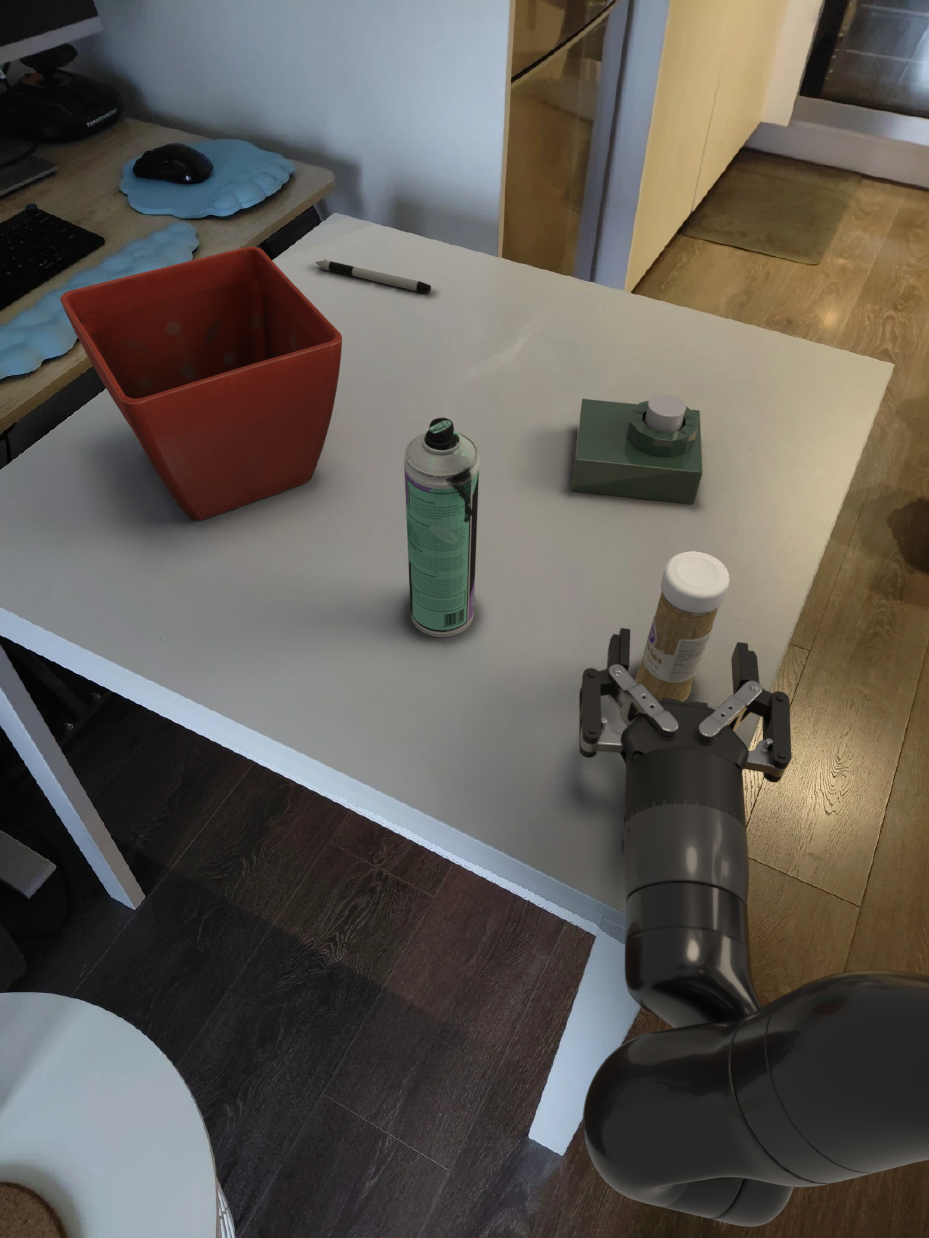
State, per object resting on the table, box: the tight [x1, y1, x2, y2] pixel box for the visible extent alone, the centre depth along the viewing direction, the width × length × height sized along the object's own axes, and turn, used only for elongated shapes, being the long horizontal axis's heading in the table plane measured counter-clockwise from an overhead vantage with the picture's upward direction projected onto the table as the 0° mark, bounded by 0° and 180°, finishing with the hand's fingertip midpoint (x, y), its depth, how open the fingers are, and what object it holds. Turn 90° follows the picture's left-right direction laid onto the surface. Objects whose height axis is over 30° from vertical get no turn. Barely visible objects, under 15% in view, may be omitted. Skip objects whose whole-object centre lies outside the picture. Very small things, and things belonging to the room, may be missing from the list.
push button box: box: [571, 398, 704, 505], centre depth 90 cm, size 12×10×6 cm
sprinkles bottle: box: [635, 551, 731, 703], centre depth 68 cm, size 5×5×13 cm
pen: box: [314, 259, 432, 294], centre depth 115 cm, size 1×16×1 cm, turn 68°
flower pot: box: [59, 246, 343, 522], centre depth 84 cm, size 19×19×17 cm
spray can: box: [403, 417, 480, 638], centre depth 71 cm, size 6×6×20 cm
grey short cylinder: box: [645, 393, 687, 433], centre depth 87 cm, size 4×4×2 cm
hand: (680, 642), depth 67 cm, fingers open, 8 cm apart
